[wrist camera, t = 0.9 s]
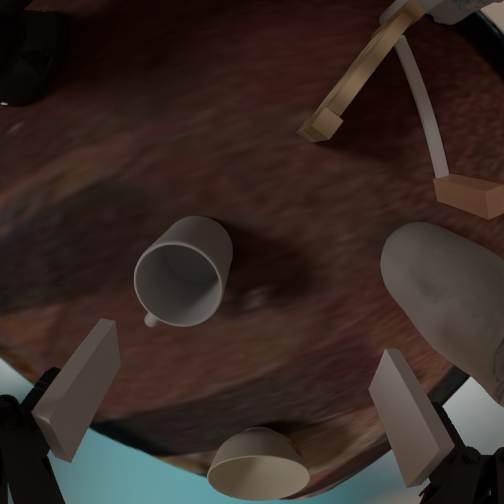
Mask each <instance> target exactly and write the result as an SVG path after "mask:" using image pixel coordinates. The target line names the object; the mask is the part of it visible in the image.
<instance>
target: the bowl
mask: <svg viewBox="0 0 504 504" xmlns="http://www.w3.org/2000/svg"><path fill="white" fill-rule="evenodd" d="M207 479H208V482H209V483H210V485H211V486H212V487H213V488H214V489H215V490H217V491H218V492H220V493H222V494H224V495H227V496H230V497H233V498H237V499H243V500H251V501H266V500H274V499H280V498H284V497H287V496H290V495H292V494H294V493H297V492H298V491H300V490H301V489H303V488H304V487H305V486H306V485H307V484H308V482H309V480H310V472H309V470H308V467H307V465H306V463H305V460H304V458H303V456H302V454H301V452H300V450H299V449H298V447H297V446H296V445H295V443H294V442H293V441H292V440H290V439H289V438H288V437H286V436H284V435H282V434H280V433H278V432H275V431H273V430H272V429H269V428H266V427H252V428H249V429H246V430H245V431H243V432H240V433H238V434H236V435H234V436H232V437H231V438H229V439H228V440H227V441H225V442H224V443H223V445H222V446H221V447H220V448H219V450H218V452H217V454H216V456H215V458H214V460H213V462H212V465H211V467H210V469H209V472H208V475H207Z"/></svg>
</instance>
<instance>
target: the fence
mask: <svg viewBox="0 0 504 504" xmlns="http://www.w3.org/2000/svg"><path fill="white" fill-rule="evenodd" d="M408 1H409V0H396V1H395V2H394V3H393V4H391V5H390V6H389V7H388V8H387V9H386V10H385V11H384V12H383V13H382V14H381V15H380V17H379V24H380V26H381V25H382V24H383V23H384V22H385V21H387V20H388V19H389V18H390V17H391V16H392V15H393V14H394V13H395V12H396V11H398V10H399V9H400V8H401V7H402V6H403V5H404V4H405V3H407V2H408ZM414 1H415V2H416V3H417V4H419V5H420V6H421V7H422V8H423V9H424V10H426V11H425V13H427V12H428V11H429V10H431V9H432V8H434V7H435V6H437V5H438V4H439V3H441V2H442V1H444V0H414ZM425 13H424V14H425ZM424 14H423V15H424ZM394 48H395V50H396V52H397V55H398V57H399V59H400V62H401V64H402V67H403V69H404V72H405V75H406V77H407V80H408V83H409V85H410V88H411V91H412V94H413V97H414V100H415V103H416V106H417V109H418V112H419V115H420V118H421V122H422V125H423V129H424V132H425V136H426V139H427V143H428V147H429V151H430V155H431V159H432V163H433V167H434V172H435V176H436V178H434V179H433V182H434V186H435V191H436V197H437V201H439V202H442V203H445V204H447V205H450V206H453V207H456V208H459V209H461V210H464V211H467V212H469V213H472V214H475V215H477V216H480V217H482V218H485V219H488V220H490V219H492V218H494V217H496V216H499V215H501V214H503V213H504V185H503V184H499V183H494V182H490V181H485V180H481V179H476V178H471V177H466V176H461V175H456V174H451V173H450V174H449V171H448V167H447V162H446V158H445V153H444V149H443V145H442V141H441V137H440V134H439V130H438V126H437V123H436V119H435V116H434V113H433V109H432V106H431V103H430V100H429V97H428V94H427V91H426V88H425V85H424V83H423V80H422V77H421V74H420V72H419V69H418V67H417V64H416V61H415V59H414V57H413V54H412V52H411V49H410V47H409V45H408V42H407V40H406V38H405V36H404V35H401V36H400V38H399V39H398V40H397V41H396V43H395V44H394Z"/></svg>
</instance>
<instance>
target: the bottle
mask: <svg viewBox="0 0 504 504" xmlns="http://www.w3.org/2000/svg"><path fill="white" fill-rule="evenodd" d="M502 1H503V0H444V1H442V2H441V3H439V4H438V5H437V6H435V7H434V8H432V9H431V10H429V11H428V12H427V13H426V14H430V15H432V16H433V17H434V21H435V22H437V23H445V24H448V25H451V24H455V23H457V22H459V21H461V20H462V19H464V18H465V17H467V16H468V15H469V14H471V13H473V12H475V11H477V10H479V9H481V8H483V7H485V6H487V5H489V4H491V3H493V2H497V3H499V2H502Z"/></svg>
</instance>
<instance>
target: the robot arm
mask: <svg viewBox="0 0 504 504" xmlns="http://www.w3.org/2000/svg"><path fill="white" fill-rule="evenodd" d="M32 1H33V0H0V105H3V106H11V107H19V106H23V105H26V104H28V103H30V102H31V101H33V100H34V99H36V98H37V97H38V96H39V95H40V94H41V93H42V92H43V91H44V90H45V89H46V88H47V86H48V85H49V84H50V82H51V81H52V80H53V78H54V76H55V75H56V73H57V71H58V69H59V67H60V65H61V63H62V60H63V57H64V54H65V50H66V45H67V29H66V26H65V23H64V21H63V20H62V19H61V18H60V17H59V16H57V15H56V14H54V13H52V12H50V11H47V10H24V9H25V8H26V7H27V6H28V5H29V4H30V3H31V2H32ZM120 366H121V363H120V356H119V349H118V341H117V333H116V324H115V321H111V320H106V319H102V318H101V319H100V321H99V322H98V323H97V324H96V326H95V327H94V328H93V329H92V331H91V332H90V333H89V334H88V336H87V337H86V338H85V340H84V341H83V342H82V343H81V345H80V346H79V347H78V349H77V350H76V351H75V353H74V354H73V355H72V356H71V358H70V359H69V360H68V362H67V363H66V364H65V366H64V367H63V368H62V369H59V368H56V367H53V368H51V369H49V370H48V371H46V372H45V373H44V374H43V375H42V376H41V378H40V379H39V382H37V383H36V384H35V386H34V388H32V390H31V391H30V392H29V394H28V395H27V396H26V398H25V399H24V400H23V402H22V403H21V404H19V402H18V400H17V399H16V398H15V397H14V396H11V395H0V504H8V488H7V487H8V486H7V485H8V484H9V488H10V492H11V496H12V499H13V503H14V504H65V501H64V499H63V497H62V494H61V492H60V489H59V486H58V484H57V481H56V478H55V476H54V473H53V470H52V467H51V464H50V461H49V458H48V457H47V454H48V452H49V450H50V449H51V451H52V453H53V454H54V456H55V457H57V458H59V459H62V460H64V461H67V462H69V463H71V461H72V459H73V457H74V455H75V453H76V451H77V449H78V447H79V445H80V443H81V441H82V439H83V437H84V435H85V433H86V431H87V429H88V427H89V425H90V423H91V421H92V419H93V417H94V415H95V413H96V411H97V409H98V407H99V405H100V403H101V402H102V400H103V398H104V396H105V394H106V392H107V390H108V388H109V386H110V385H111V383H112V381H113V379H114V377H115V375H116V373H117V372H118V370H119V368H120ZM369 392H370V394H371V396H372V399H373V401H374V404H375V406H376V409H377V411H378V414H379V416H380V419H381V421H382V424H383V426H384V429H385V431H386V434H387V437H388V439H389V442H390V444H391V447H392V450H393V452H394V455H395V457H396V460H397V463H398V465H399V469H400V471H401V474H402V477H403V480H404V482H405V485H406V488H409V487H413V486H418V485H421V484H422V483H423V482H424V481H425V480H426V479H427V478H428V477H429V480H430V482H431V483H430V484H429V485H428V486H427V487H426V488H425V489H424V490H423V491H422V492H421V493H420V494H419V496H421V495H422V494H423V493H424V495H423V498H422V500H421V502H420V504H504V447H501V448H499V449H498V450H497V451H496V452H495V453H494V454H493V455H481V454H480V453H479V452H478V450H476V449H474V448H473V447H469V446H467V447H466V446H465V445H464V443H463V441H462V439H461V437H460V436H459V434H458V432H457V430H456V429H455V427H454V425H453V424H452V422H451V420H450V418H448V415H447V413H446V411H445V410H444V408H443V407H442V406H440V405H439V404H438V403H437V402H430V400H429V399H428V397H427V395H426V393H425V392H424V390H423V388H422V387H421V385H420V383H419V382H418V380H417V378H416V377H415V375H414V373H413V372H412V370H411V369H410V367H409V365H408V364H407V362H406V360H405V359H404V357H403V356H402V354H401V352H400V351H399V349H385V351H384V354H383V356H382V359H381V361H380V364H379V366H378V369H377V371H376V373H375V376H374V378H373V380H372V383H371V385H370V387H369ZM490 493H491V495H490Z"/></svg>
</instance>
